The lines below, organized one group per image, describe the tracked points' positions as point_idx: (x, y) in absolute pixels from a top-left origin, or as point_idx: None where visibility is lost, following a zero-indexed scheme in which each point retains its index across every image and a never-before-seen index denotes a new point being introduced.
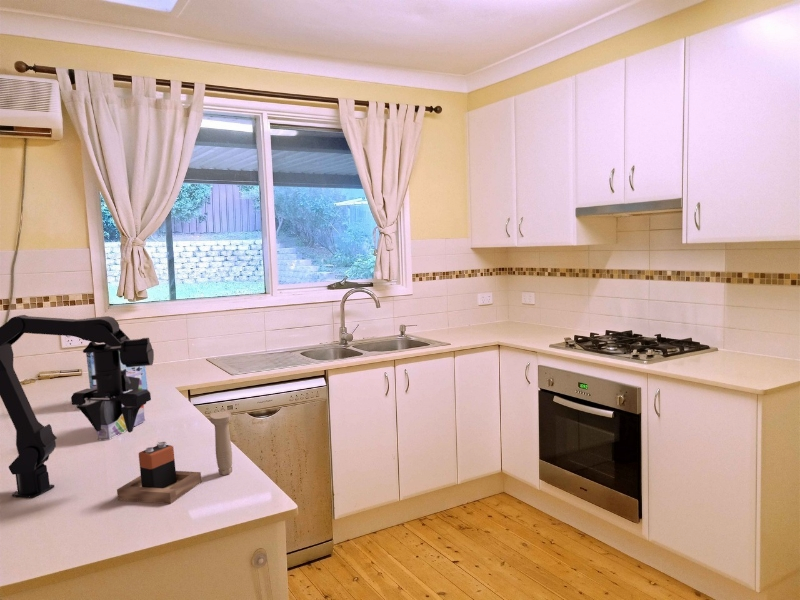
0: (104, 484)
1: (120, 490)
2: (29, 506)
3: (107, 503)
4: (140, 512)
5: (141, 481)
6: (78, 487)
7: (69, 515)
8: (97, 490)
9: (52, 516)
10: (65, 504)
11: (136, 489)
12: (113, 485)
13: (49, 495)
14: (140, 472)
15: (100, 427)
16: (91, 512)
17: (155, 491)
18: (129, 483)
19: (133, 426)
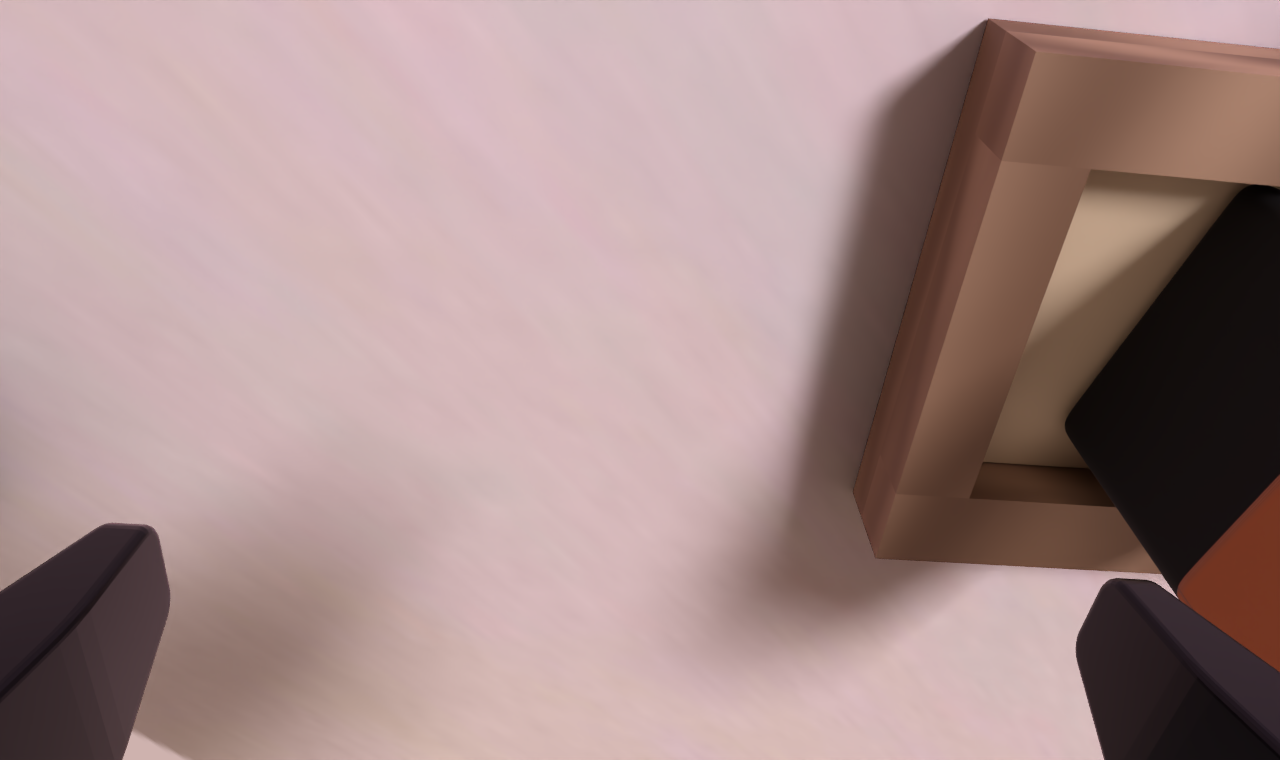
0: (462, 188)
1: (910, 553)
2: None
3: (793, 543)
4: None
5: (1102, 485)
6: (215, 274)
7: (616, 698)
8: (502, 330)
9: (498, 715)
10: (430, 576)
11: (1074, 551)
12: (594, 209)
13: (91, 448)
14: (1148, 553)
15: (125, 581)
16: (755, 658)
17: None
18: (937, 442)
19: (1252, 668)
